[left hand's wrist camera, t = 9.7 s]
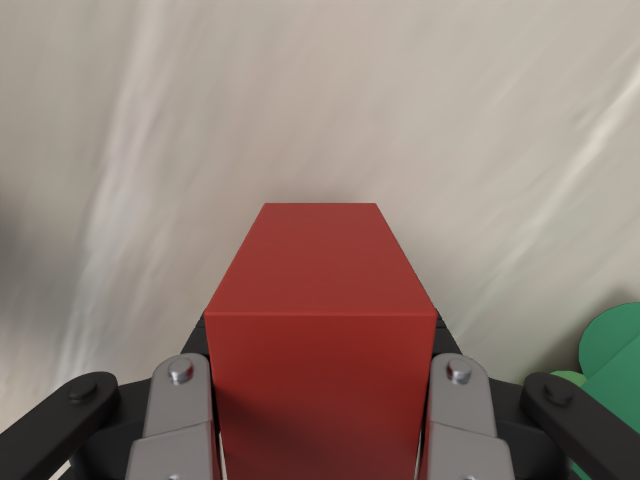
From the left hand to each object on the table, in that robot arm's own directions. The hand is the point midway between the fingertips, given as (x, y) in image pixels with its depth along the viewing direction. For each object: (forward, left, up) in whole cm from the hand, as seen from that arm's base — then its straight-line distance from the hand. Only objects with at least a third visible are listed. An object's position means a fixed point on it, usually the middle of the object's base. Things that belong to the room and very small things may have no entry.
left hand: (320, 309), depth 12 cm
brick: (0, 0, -3) cm, 3 cm away
